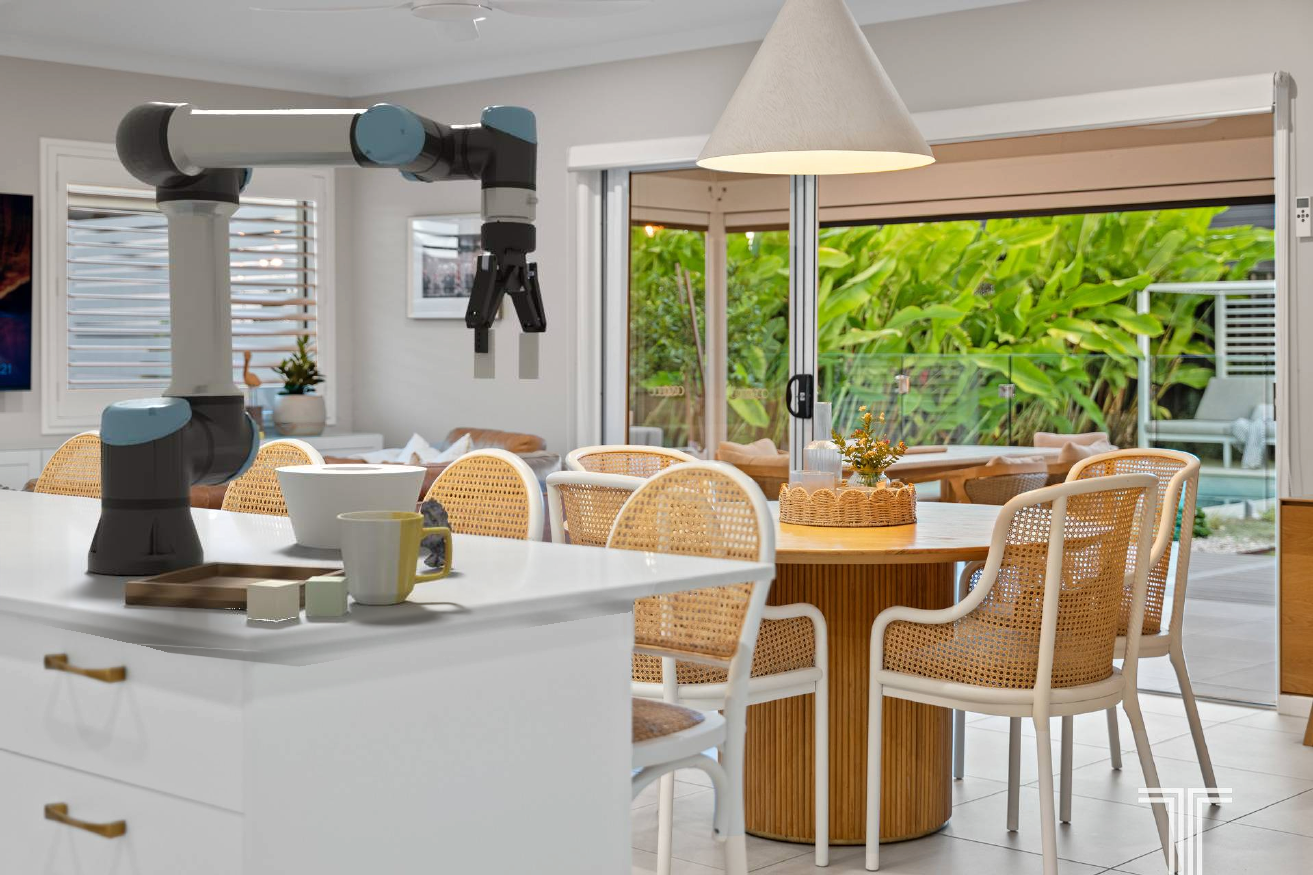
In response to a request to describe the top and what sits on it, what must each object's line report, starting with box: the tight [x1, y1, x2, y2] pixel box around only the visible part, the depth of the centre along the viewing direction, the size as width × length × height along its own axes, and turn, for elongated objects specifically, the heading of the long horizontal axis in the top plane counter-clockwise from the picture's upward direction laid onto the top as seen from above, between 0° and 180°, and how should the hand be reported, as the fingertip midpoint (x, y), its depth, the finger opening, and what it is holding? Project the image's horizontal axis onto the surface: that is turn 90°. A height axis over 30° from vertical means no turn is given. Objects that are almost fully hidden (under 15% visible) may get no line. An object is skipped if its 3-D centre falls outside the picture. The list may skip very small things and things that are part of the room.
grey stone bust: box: [419, 496, 453, 569], centre depth 204 cm, size 5×5×10 cm
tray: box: [124, 561, 345, 610], centre depth 176 cm, size 20×20×2 cm
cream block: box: [246, 580, 300, 621], centre depth 160 cm, size 4×4×4 cm
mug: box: [337, 511, 453, 606], centre depth 173 cm, size 14×10×10 cm
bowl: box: [274, 463, 428, 550], centre depth 233 cm, size 24×24×12 cm
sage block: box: [304, 576, 349, 617], centre depth 164 cm, size 4×4×4 cm
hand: (507, 379), depth 198 cm, fingers open, 13 cm apart
